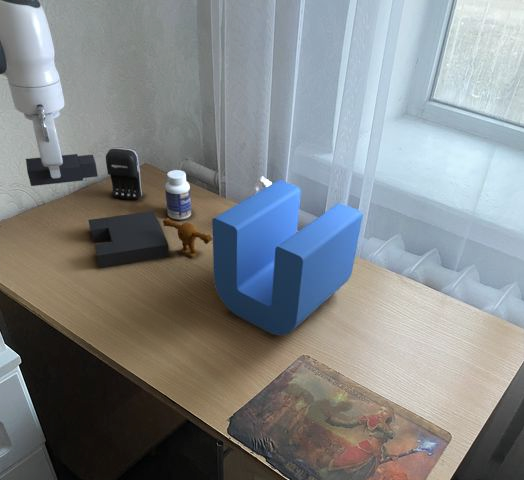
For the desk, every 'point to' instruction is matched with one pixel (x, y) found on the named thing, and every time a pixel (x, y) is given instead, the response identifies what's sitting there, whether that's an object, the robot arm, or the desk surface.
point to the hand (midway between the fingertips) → (54, 168)
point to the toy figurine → (187, 236)
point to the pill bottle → (178, 195)
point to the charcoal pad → (62, 170)
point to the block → (281, 257)
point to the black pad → (128, 239)
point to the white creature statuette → (261, 184)
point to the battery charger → (124, 173)
